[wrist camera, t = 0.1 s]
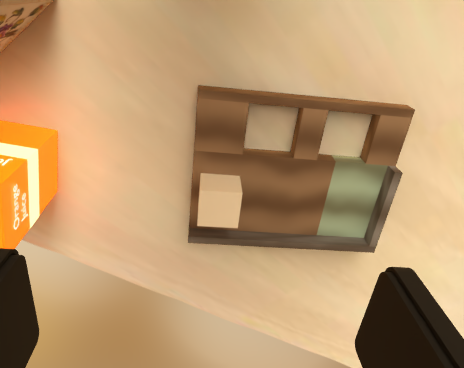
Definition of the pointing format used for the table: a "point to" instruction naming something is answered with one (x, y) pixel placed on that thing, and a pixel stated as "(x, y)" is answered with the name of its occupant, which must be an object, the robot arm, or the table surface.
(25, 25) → the decorative jar
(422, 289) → the robot arm
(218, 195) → the block
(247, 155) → the board
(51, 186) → the orange juice
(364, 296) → the table surface
